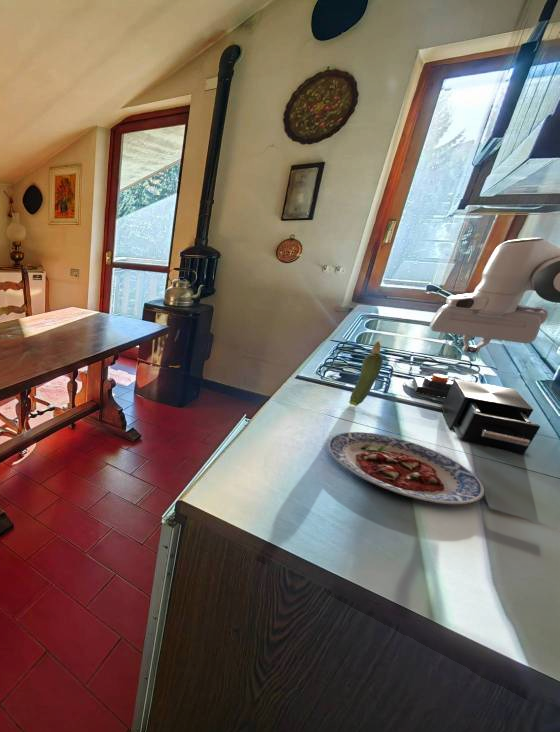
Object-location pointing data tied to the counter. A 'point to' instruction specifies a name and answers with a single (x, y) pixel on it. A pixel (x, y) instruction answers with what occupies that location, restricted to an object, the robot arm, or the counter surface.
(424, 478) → the ceramic plate
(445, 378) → the button
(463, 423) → the small drawer unit
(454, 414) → the cabinet
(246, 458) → the counter surface
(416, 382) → the control block
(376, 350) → the vegetable
